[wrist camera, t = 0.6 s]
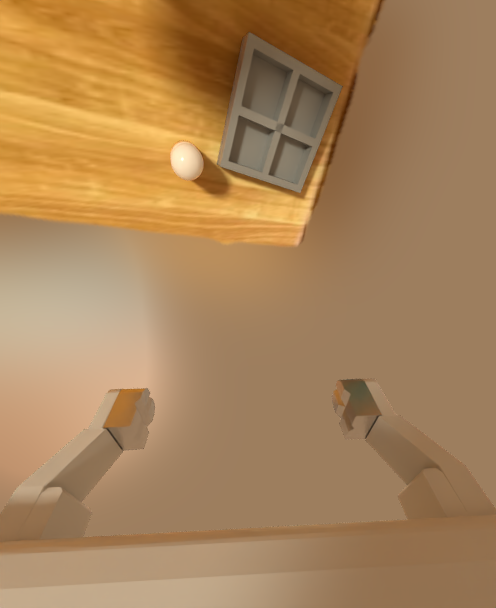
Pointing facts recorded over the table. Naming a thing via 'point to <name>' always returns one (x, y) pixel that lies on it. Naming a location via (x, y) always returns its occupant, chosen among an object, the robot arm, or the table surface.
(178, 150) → the cream rounded piece
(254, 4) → the table surface
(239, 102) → the grey compartment tray
